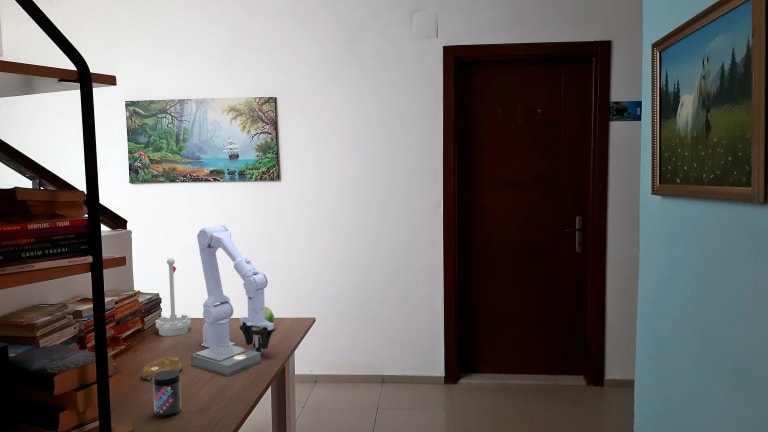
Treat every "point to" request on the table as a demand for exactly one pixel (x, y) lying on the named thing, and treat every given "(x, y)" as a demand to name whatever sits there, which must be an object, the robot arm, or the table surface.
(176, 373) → the supplement container
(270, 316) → the decorative ball
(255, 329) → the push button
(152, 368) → the decorative rock
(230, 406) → the table surface
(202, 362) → the scale housing
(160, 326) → the flag stand
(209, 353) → the weighing pan
